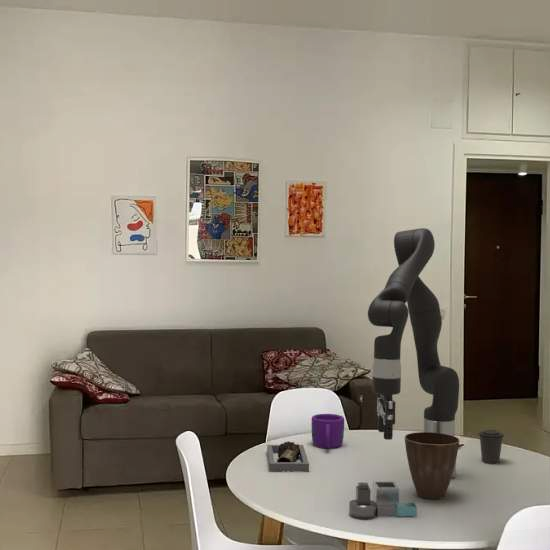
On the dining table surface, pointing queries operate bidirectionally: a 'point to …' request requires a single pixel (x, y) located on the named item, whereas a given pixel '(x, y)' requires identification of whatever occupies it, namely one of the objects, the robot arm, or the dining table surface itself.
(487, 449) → the coffee cup
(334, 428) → the mug
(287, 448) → the rough wooden branch
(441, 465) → the plant pot
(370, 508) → the ratchet
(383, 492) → the square metal tube
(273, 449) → the gray rectangular tray
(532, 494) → the dining table surface
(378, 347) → the robot arm
